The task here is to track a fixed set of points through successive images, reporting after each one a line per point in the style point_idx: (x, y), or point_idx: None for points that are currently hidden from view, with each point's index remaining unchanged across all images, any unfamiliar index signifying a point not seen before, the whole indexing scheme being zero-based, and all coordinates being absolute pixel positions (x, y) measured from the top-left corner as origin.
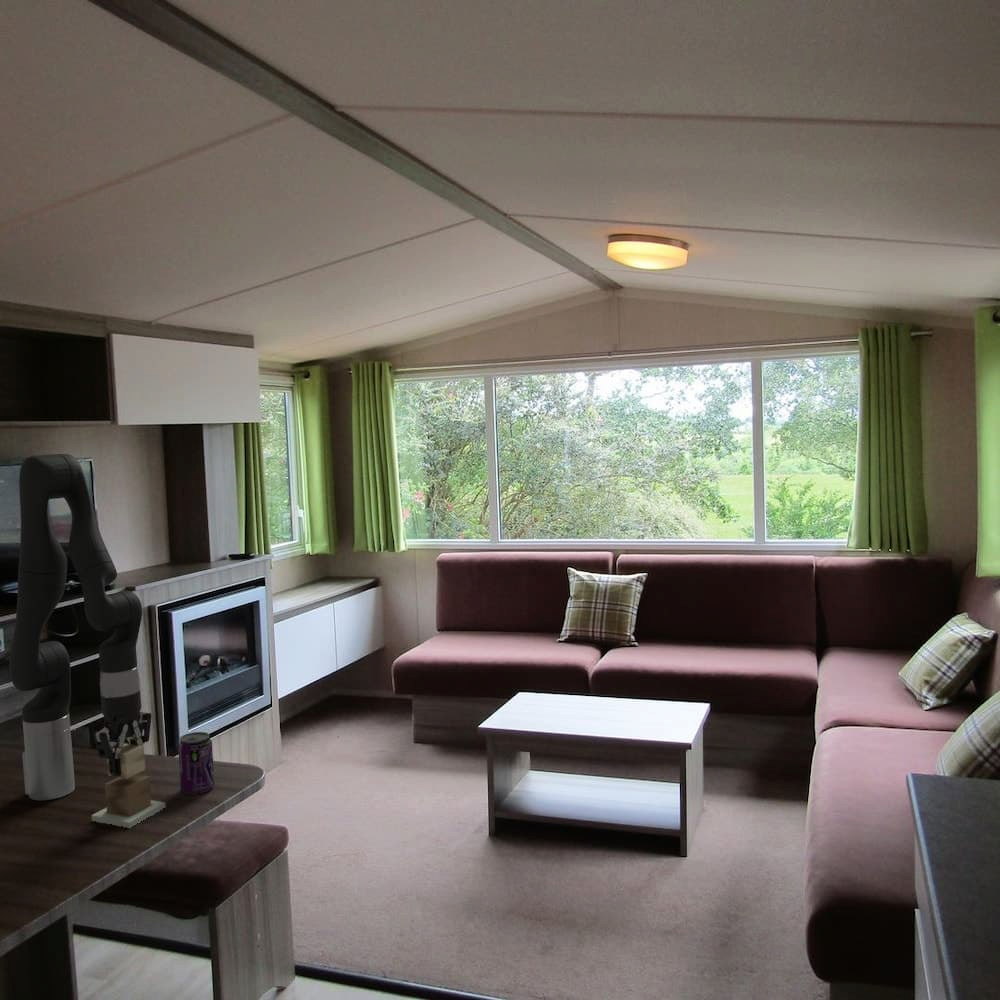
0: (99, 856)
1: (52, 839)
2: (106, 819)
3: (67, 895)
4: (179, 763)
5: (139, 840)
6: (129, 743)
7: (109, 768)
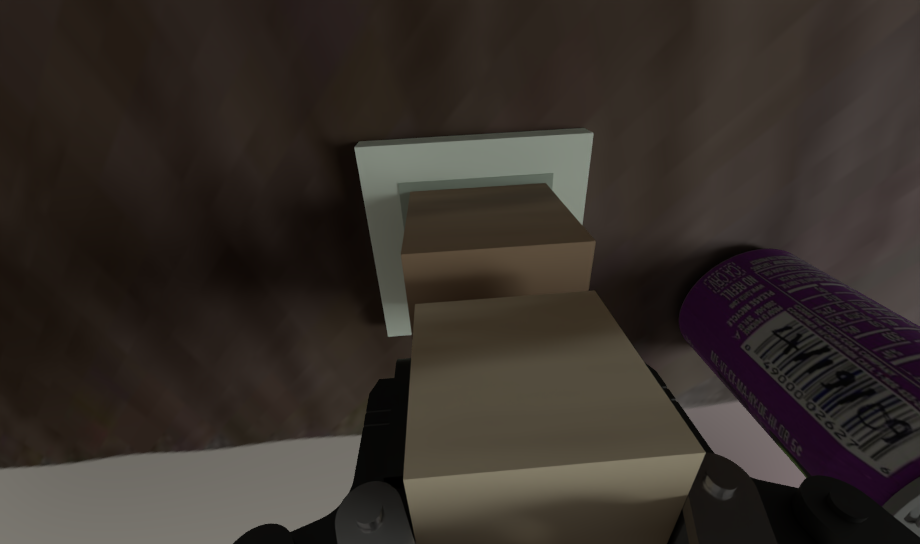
0: (213, 382)
1: (140, 130)
2: (370, 232)
3: (51, 460)
4: (790, 353)
5: (349, 398)
6: (688, 507)
7: (366, 418)
